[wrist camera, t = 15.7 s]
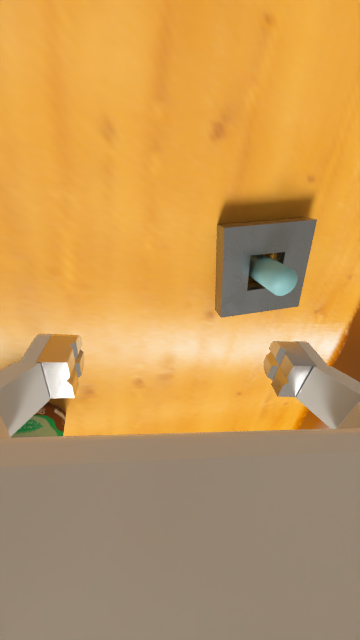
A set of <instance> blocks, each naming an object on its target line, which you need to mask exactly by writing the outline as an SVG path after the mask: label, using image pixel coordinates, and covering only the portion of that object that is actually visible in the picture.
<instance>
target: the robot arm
mask: <svg viewBox="0 0 360 640" xmlns="http://www.w3.org/2000/svg"><path fill="white" fill-rule="evenodd" d="M81 346H82V340H81V337H80V336H79V335H59V334H38V335H37V336H36V337H35V339H34V340H33V342H32V343H31V345H30V346H29V348H28V349H27V351H26V353H25V354H24V356H23V357H22V359H21V360H20V362H15V363H13V364H11V365H9V366H8V367H6V368H4V369H2V370H0V640H360V382H358V381H356V380H354V379H352V378H351V377H349V376H347V375H345V374H344V373H342V372H340V371H339V370H336V369H335V368H333V367H328V365H327V364H326V363H325V362H324V361H323V359H322V358H321V357H320V356H319V355H318V354H317V352H316V351H315V350H314V349H313V348H312V347H311V345H310V344H309V343H307V342H280V341H273V342H272V343H271V345H270V347H269V349H270V353H269V354H268V355H267V356H266V357H265V360H264V370H265V373H266V375H267V377H269V378H270V379H271V380H272V384H271V385H272V387H273V388H274V390H275V392H276V394H277V396H280V397H296V398H297V399H298V400H299V401H300V402H301V403H303V404H304V405H305V406H306V407H307V408H308V409H309V410H310V411H312V412H313V413H314V414H315V415H316V416H318V418H320V419H321V420H322V421H323V422H324V423H325V424H326V425H328V426H329V427H330V428H331V429H305V430H270V431H234V432H197V433H161V434H125V435H89V436H53V437H17V438H11V436H12V435H13V434H14V433H15V432H16V431H17V430H18V429H20V428H21V427H22V426H23V425H24V424H25V423H26V422H27V421H28V420H29V419H30V418H31V417H32V416H33V415H34V414H36V413H37V412H38V411H39V410H40V409H41V408H42V407H43V406H44V405H45V404H46V403H47V402H48V401H49V400H50V398H74V396H75V393H76V390H77V387H78V377H80V376H81V375H82V371H83V366H84V354H83V352H82V351H81V350H80V348H81Z"/></svg>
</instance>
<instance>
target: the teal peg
mask: <svg viewBox="0 0 360 640" xmlns="http://www.w3.org/2000/svg"><path fill="white" fill-rule="evenodd" d="M249 276H250V277H252V278H253V279H254V280H256V281H257V282H258V283H260V284H261V285H262V286H264V287H265V288H266V289H268V290H269V291H271V292H272V293H273V294H275V295H277V296H283V295H286V294H288V293H289V292H291V291H292V290H293V289H294V287H295V286H296V283H297V279H298V277H297V273H296V272H295V270H293V269H291V268H289V267H287V266H285V265H283V264H282V263H280V262H278V261H276V260H274V259H272V258H270V257H268V256H266V255H264V254H260V255H252V256H251V257H250V266H249Z"/></svg>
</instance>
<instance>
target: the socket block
mask: <svg viewBox="0 0 360 640" xmlns="http://www.w3.org/2000/svg"><path fill="white" fill-rule="evenodd" d="M316 221H317V220H316V219H311V218H305V217H300V218H289V219H277V220H266V221H254V222H243V223H231V224H220V225H217V254H216V295H215V310H216V311H217V313H218V314H219V316H220V317H228V316H235V315H242V314H249V313H256V312H263V311H269V310H276V309H283V308H290V307H297V306H298V305H299V300H300V296H301V291H302V286H303V282H304V277H305V272H306V268H307V263H308V258H309V254H310V249H311V244H312V240H313V235H314V231H315V226H316ZM270 253H274V257H273V259H274V260H276V261H278V262H280V263H282V264H283V265H285V266H287V267H289V268H291V269H293V270H295V272H296V273H297V277H298V279H297V283H296V286H295V287H294V289H293V290H292V291H291V292H289V293H288V294H286V295H283V296H277V295H275V294H273V293H272V292H271V291H269V290H268V289H266V288H265V287H264V286H262V285H261V284H260V283H258V282H252V283H248V276H249V266H250V256H251V255H260V254H270Z"/></svg>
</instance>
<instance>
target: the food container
mask: <svg viewBox="0 0 360 640" xmlns="http://www.w3.org/2000/svg"><path fill="white" fill-rule="evenodd" d="M65 417H66V414H65V412H64V411H63V410H62V409H60V408H59V407H57V406H55V405H53V404H50V403H46V404H45V405H44V406H43V407H42V408H41V409H40V410H39V411H38V412H37V413H36V414H34V415H33V416H32V417H31V418H30V419H29V420H28V421H27V422H26V423H25V424H24V425H23V426H22V427H21V428H20V429H18V430H17V431H16V432H15V433H14V434H13V435H12V436H11V438H17V437H53V436H63V432H64V424H65Z"/></svg>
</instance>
